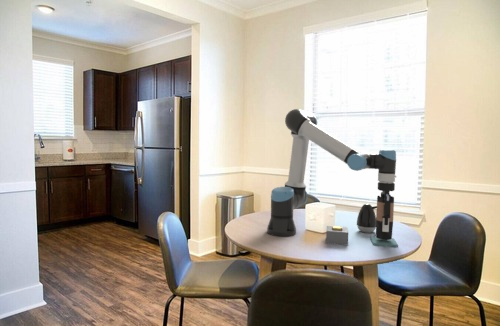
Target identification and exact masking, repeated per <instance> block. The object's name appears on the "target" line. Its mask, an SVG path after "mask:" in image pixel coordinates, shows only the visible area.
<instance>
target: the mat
mask: <svg viewBox="0 0 500 326" xmlns="http://www.w3.org/2000/svg"><path fill="white" fill-rule="evenodd" d="M370 241H371V244H372V246H378V247H379V246H381V247H392V248H399V244H398V243H397V241H396V240H395V238H394V237H393V238H392V239H390V240H382V239H378V238H376V236H370Z"/></svg>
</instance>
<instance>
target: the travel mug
mask: <svg viewBox="0 0 500 326" xmlns="http://www.w3.org/2000/svg"><path fill="white" fill-rule="evenodd" d="M384 205H385V198H383V197H381V195H377V198H376V206H377V208H376V212H375V215H376V228H375V237H376V238H378V239H382V240H390V239H392V237H393V228H394V214H395V213H394V212H395V211H394V209H395V208H394V207H395V197H394V196H391V205H390V218H389V232H382V226H383V218H382V216H384V212H383V211H384Z"/></svg>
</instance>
